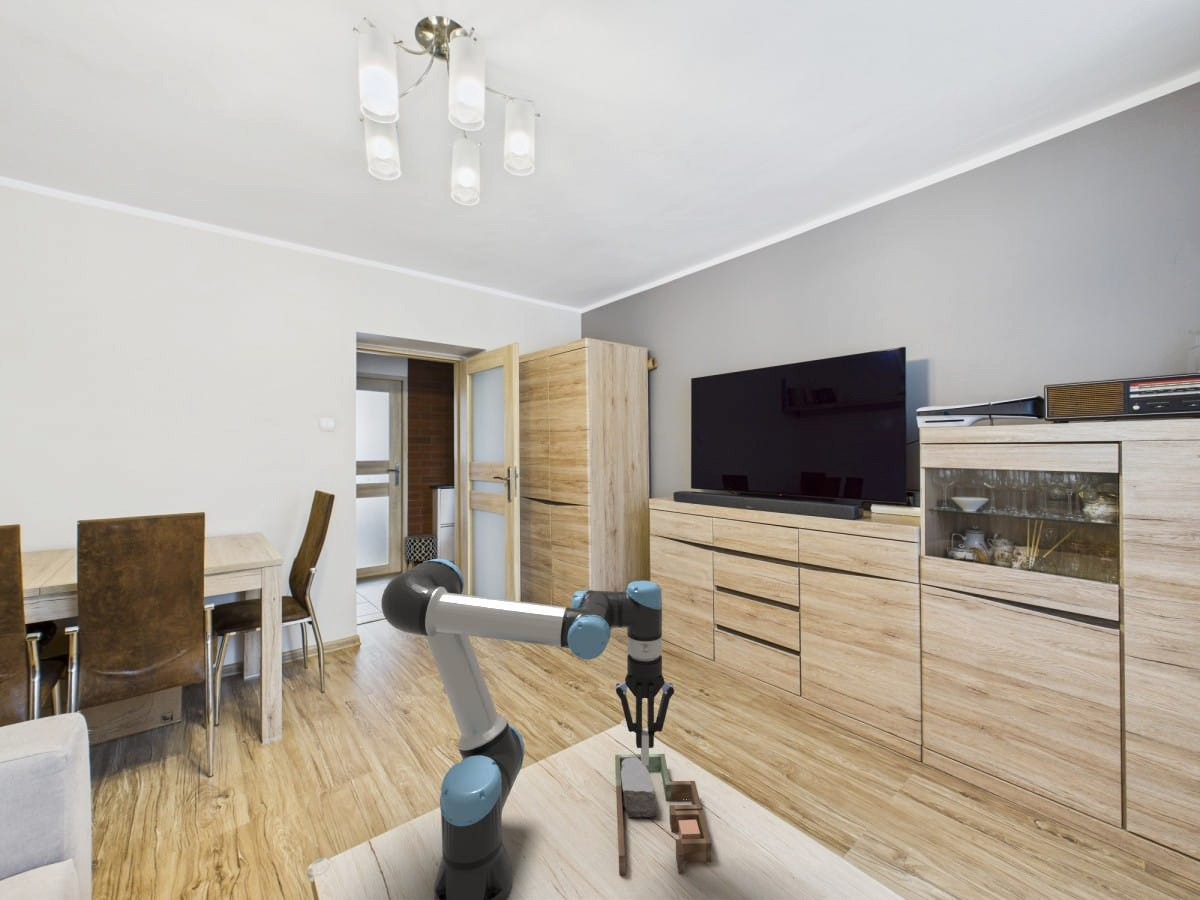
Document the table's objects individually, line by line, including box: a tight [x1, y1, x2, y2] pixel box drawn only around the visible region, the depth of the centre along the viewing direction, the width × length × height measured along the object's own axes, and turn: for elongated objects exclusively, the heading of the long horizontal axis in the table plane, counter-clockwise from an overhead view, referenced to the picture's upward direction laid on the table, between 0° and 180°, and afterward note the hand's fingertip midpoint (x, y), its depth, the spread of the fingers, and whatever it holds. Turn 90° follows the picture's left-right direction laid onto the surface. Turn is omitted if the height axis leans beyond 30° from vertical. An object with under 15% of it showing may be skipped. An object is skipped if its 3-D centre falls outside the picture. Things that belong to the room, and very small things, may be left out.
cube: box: [678, 820, 700, 839], centre depth 111 cm, size 4×4×4 cm
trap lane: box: [614, 753, 713, 876], centre depth 120 cm, size 20×33×4 cm, turn 0°
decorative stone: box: [620, 757, 658, 819], centre depth 125 cm, size 15×7×10 cm
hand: (644, 761), depth 110 cm, fingers closed
